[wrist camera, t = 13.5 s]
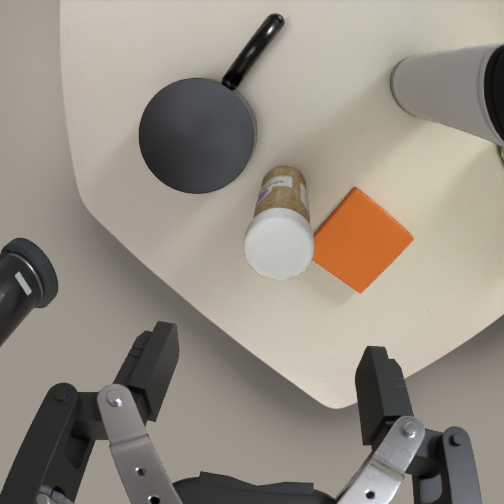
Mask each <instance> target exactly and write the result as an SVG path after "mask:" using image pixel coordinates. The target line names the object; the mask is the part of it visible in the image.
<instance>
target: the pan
mask: <svg viewBox="0 0 504 504" xmlns="http://www.w3.org/2000/svg"><path fill="white" fill-rule="evenodd" d="M284 23H285V20H284V18H283V17H282V16H281V15H280V14H276V13H274V14H271V15H269V16H268V17H267V18H266V20H265V21H264V22H263V23H262V25H261V26H260V27H259V28H258V30H257V31H256V32H255V34H254V35H253V36H252V38H251V39H250V40H249V42H248V43H247V44H246V46H245V47H244V48H243V50H242V51H241V53H240V54H239V55H238V57H237V58H236V60H235V61H234V62H233V64H232V65H231V67H230V68H229V69H228V71H227V72H226V74H225V75H224V77H223V78H222V81H221V82H220V81H216V80H211V79H201V78H191V79H184V80H180V81H177V82H174V83H172V84H170V85H168V86H166V87H165V88H163V89H162V90H160V91H159V92H158V93H157V94H156V95H155V96H154V97H153V98H152V99H151V101H150V102H149V103H148V105H147V107H146V108H145V110H144V113H143V115H142V118H141V121H140V126H139V145H140V150H141V153H142V156H143V158H144V161H145V163H146V164H147V166H148V168H149V169H150V170H151V172H152V173H153V174H154V175H155V176H156V177H157V178H158V179H159V180H160V181H161V182H163V183H164V184H166V185H167V186H169V187H171V188H173V189H175V190H178V191H181V192H185V193H192V194H202V193H209V192H213V191H216V190H218V189H221V188H223V187H225V186H227V185H228V184H229V183H231V182H232V181H234V180H235V179H236V178H237V177H238V176H239V175H240V173H241V172H242V171H243V170H244V168H245V166H246V165H247V163H248V161H249V160H250V158H251V156H252V154H253V152H254V149H255V145H256V140H257V124H256V119H255V116H254V113H253V111H252V108H251V107H250V105H249V103H248V102H247V100H246V99H245V98H244V97H243V96H242V95H241V94H240V93H239V92H238V91H237V90H235V89H236V88H237V87H238V86H239V85H240V83H241V82H242V80H243V79H244V78H245V76H246V75H247V73H248V72H249V71H250V69H251V68H252V67H253V65H254V64H255V62H256V61H257V60H258V58H259V57H260V56H261V54H262V53H263V52H264V50H265V49H266V48H267V46H268V45H269V44H270V42H271V41H272V40H273V38H274V37H275V36H276V35H277V33H278V32H279V31H280V30H281V28H282V27H283V26H284Z"/></svg>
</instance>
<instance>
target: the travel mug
mask: <svg viewBox="0 0 504 504" xmlns="http://www.w3.org/2000/svg"><path fill="white" fill-rule="evenodd" d="M390 83H391V90H392V94H393V96H394V98H395V101H396V102H397V103H398V105H399V106H400V107H401V108H402V109H403V110H404V111H406V112H407V113H408V114H411V115H413V116H416V117H420V118H423V119H426V120H430V121H433V122H436V123H440V124H443V125H446V126H449V127H452V128H455V129H458V130H461V131H464V132H467V133H470V134H472V135H475V136H478V137H481V138H483V139H486V140H488V141H491V142H493V143H496V144H498V145H501V146H503V147H504V43H493V44H484V45H476V46H468V47H461V48H455V49H449V50H443V51H438V52H432V53H427V54H422V55H417V56H413V57H408V58H406V59H403V60H402V61H400V62H399V63H398V64H397V65H396V66H395V68H394V70H393V72H392V75H391V82H390Z"/></svg>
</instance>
